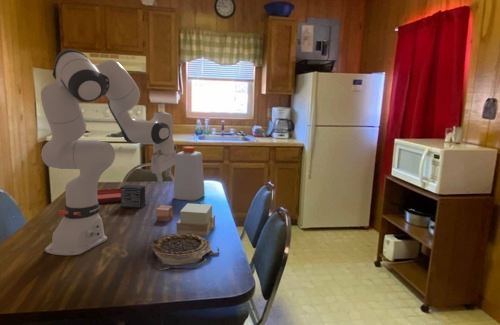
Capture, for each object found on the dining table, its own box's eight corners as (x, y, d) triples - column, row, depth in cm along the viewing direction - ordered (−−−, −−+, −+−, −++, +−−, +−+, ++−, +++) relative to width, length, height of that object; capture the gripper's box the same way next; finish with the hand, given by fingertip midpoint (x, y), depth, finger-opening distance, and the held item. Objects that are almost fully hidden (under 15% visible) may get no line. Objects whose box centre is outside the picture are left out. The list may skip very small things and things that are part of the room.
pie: (131, 270, 120) (131, 256, 119) (151, 238, 146) (151, 227, 146) (216, 272, 120) (216, 258, 119) (221, 240, 147) (221, 228, 146)
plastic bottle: (182, 192, 211) (182, 144, 206) (206, 194, 207) (207, 146, 202) (170, 199, 197) (169, 148, 191) (196, 202, 193) (196, 150, 187)
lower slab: (206, 237, 149) (207, 225, 148) (176, 234, 151) (176, 223, 150) (214, 225, 161) (214, 215, 160) (186, 223, 163) (186, 212, 162)
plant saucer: (92, 195, 201) (92, 189, 200) (126, 193, 208) (126, 187, 207) (92, 205, 184) (92, 199, 184) (129, 202, 191) (129, 195, 191)
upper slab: (206, 224, 149) (206, 213, 148) (180, 222, 150) (180, 211, 149) (212, 215, 159) (212, 204, 158) (187, 214, 161) (187, 203, 160)
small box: (146, 204, 186) (145, 185, 184) (141, 208, 180) (140, 188, 178) (126, 203, 187) (125, 184, 185) (120, 207, 181) (119, 187, 179)
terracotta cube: (168, 221, 164) (168, 209, 163) (156, 220, 165) (156, 209, 164) (172, 217, 169) (172, 206, 168) (161, 216, 170) (161, 205, 169)
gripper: (161, 153, 150) (161, 185, 153) (178, 145, 170) (178, 174, 173) (146, 152, 151) (147, 184, 154) (165, 144, 171) (165, 173, 174)
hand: (164, 178), depth 163 cm, fingers open, 8 cm apart
